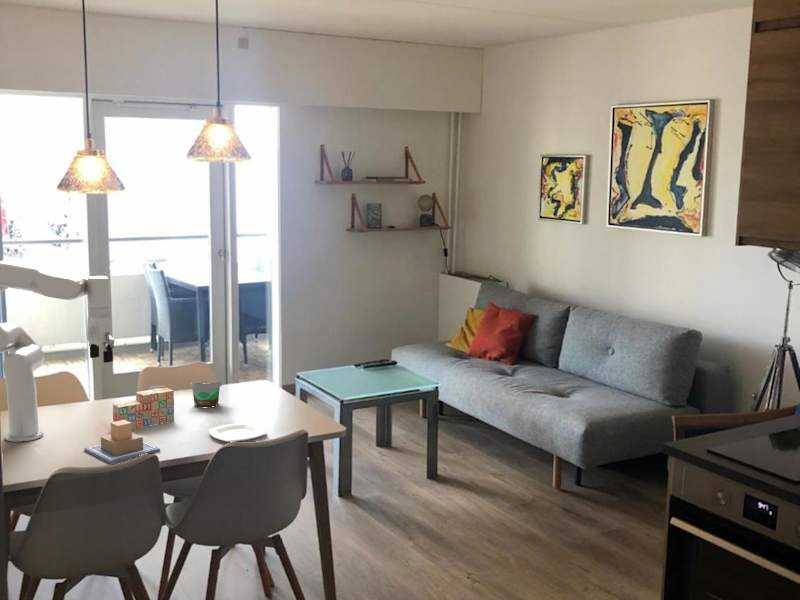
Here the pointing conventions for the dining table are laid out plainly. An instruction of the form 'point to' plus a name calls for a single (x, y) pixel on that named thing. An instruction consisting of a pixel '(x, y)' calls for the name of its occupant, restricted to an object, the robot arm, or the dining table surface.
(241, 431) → the plate
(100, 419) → the dining table surface
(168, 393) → the stack of blocks
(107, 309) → the robot arm
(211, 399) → the food container
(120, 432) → the terracotta cube
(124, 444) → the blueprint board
